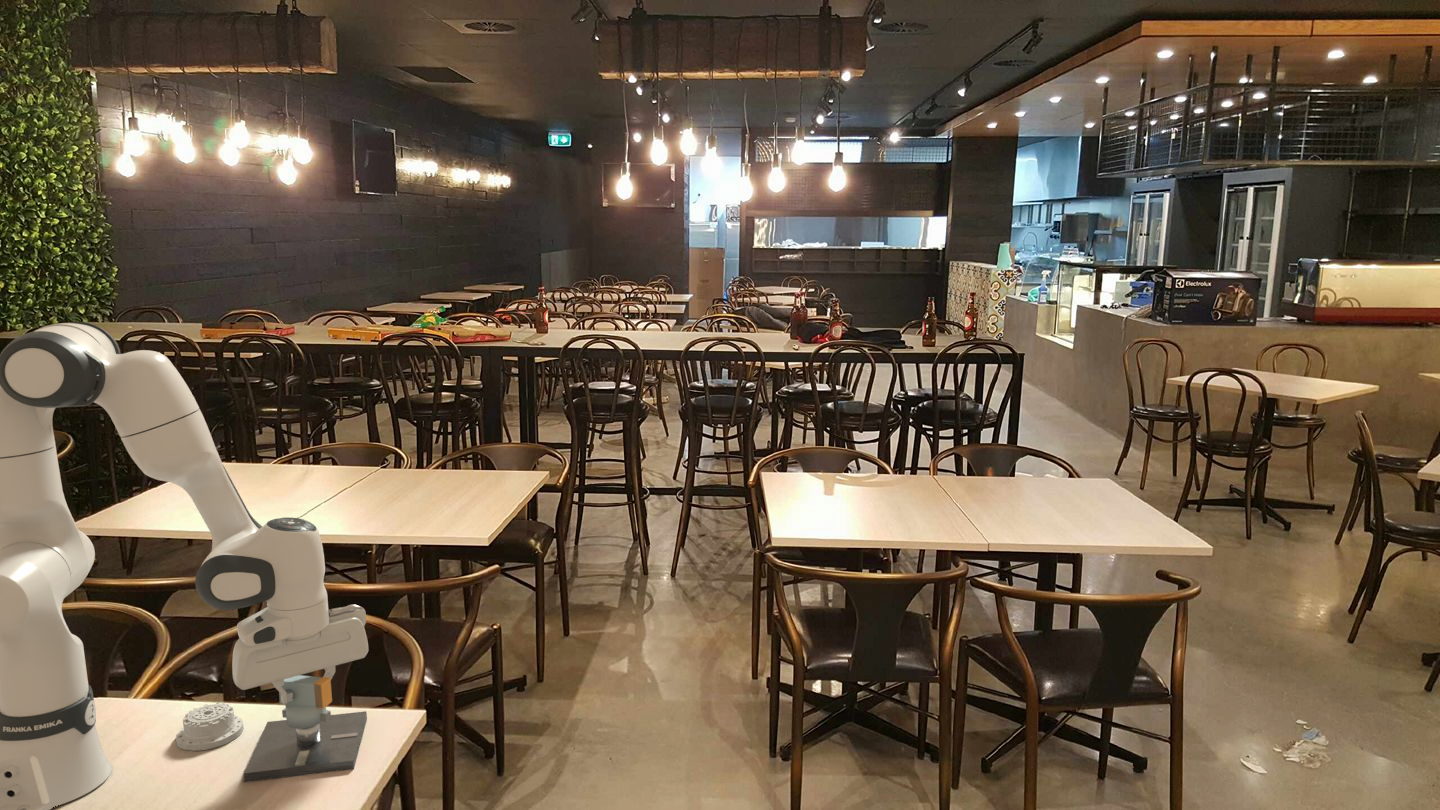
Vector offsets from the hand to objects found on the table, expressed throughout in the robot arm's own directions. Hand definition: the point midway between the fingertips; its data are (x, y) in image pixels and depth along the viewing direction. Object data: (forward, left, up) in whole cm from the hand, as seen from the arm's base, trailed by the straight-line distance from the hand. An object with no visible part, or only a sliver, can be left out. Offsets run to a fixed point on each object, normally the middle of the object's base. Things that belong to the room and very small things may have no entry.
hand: (305, 696), depth 152 cm
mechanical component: (-17, +8, -10) cm, 21 cm away
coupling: (0, 0, -4) cm, 4 cm away
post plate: (0, 0, -9) cm, 9 cm away
